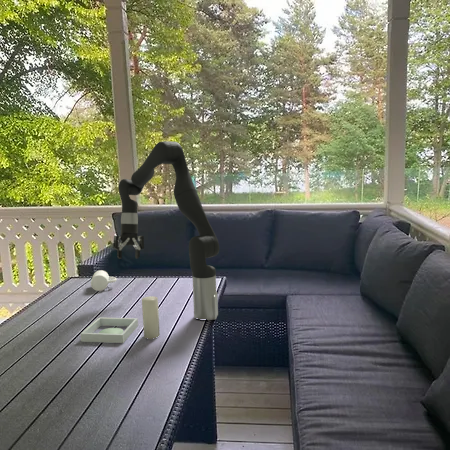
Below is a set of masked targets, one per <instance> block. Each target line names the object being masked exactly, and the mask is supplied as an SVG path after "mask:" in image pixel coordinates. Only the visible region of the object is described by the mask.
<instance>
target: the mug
mask: <svg viewBox="0 0 450 450" xmlns="http://www.w3.org/2000/svg"><path fill="white" fill-rule="evenodd" d="M117 281H118V279H117V277H116V276H109V274H108V272H107V271H106V270H102V269H101V270H100V269H99V270H97V271H95V272H94V274H93V275H92V277H91V281H90V287H91V288H92V290H94V291H96V292H102V291H105V290H106V289H107V287H108V285H109V284H111V283H115V282H117Z"/></svg>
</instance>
